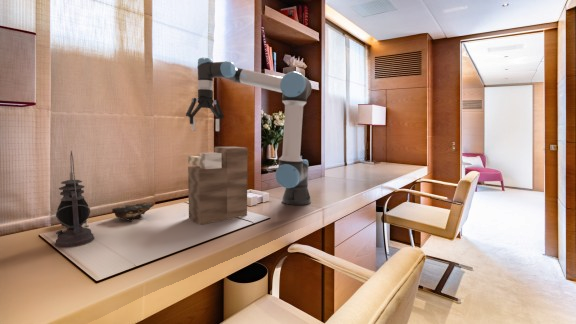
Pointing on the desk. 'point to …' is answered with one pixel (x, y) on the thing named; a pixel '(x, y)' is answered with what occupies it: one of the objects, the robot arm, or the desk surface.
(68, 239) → the lantern
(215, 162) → the pale wooden block
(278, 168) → the robot arm
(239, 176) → the stand
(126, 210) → the fossil rock
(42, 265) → the desk surface
